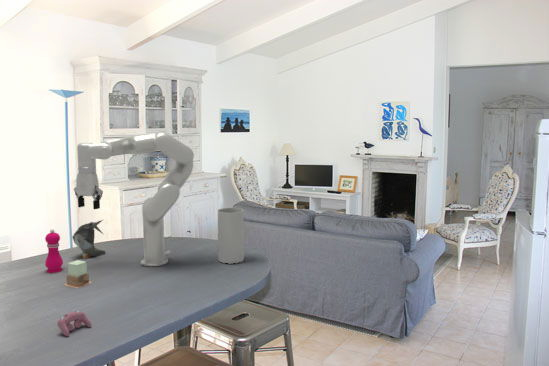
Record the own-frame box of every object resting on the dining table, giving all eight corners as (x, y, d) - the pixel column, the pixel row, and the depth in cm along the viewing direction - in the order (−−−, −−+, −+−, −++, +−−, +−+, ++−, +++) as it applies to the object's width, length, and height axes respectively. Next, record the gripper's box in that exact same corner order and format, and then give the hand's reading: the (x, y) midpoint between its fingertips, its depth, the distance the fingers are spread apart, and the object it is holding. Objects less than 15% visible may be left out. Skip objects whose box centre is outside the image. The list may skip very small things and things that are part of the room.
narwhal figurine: (68, 256, 250) (66, 221, 248) (98, 250, 260) (96, 216, 258) (80, 262, 240) (78, 225, 237) (110, 256, 250) (109, 221, 248)
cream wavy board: (84, 273, 224) (84, 271, 224) (108, 279, 217) (108, 276, 217) (51, 285, 209) (51, 282, 209) (77, 291, 202) (76, 288, 202)
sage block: (78, 271, 211) (77, 260, 210) (86, 273, 208) (86, 261, 208) (68, 275, 206) (67, 263, 206) (77, 276, 204) (76, 265, 203)
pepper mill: (56, 275, 221) (54, 231, 218) (42, 274, 222) (39, 230, 219) (66, 270, 228) (64, 227, 225) (52, 269, 229) (50, 227, 226)
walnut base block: (78, 280, 212) (78, 271, 211) (88, 282, 209) (88, 273, 209) (67, 284, 207) (66, 275, 206) (77, 286, 204) (76, 277, 203)
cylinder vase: (248, 261, 243) (248, 211, 240) (225, 265, 236) (225, 213, 233) (235, 255, 253) (235, 206, 250) (213, 259, 247) (213, 209, 243)
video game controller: (86, 328, 171) (79, 309, 172) (93, 325, 169) (86, 306, 170) (60, 339, 163) (53, 318, 164) (67, 336, 161) (60, 315, 161)
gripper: (67, 170, 226) (68, 207, 229) (94, 172, 218) (96, 211, 221) (80, 168, 233) (82, 204, 235) (107, 170, 225) (109, 208, 227)
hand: (89, 207), depth 228 cm, fingers open, 9 cm apart
